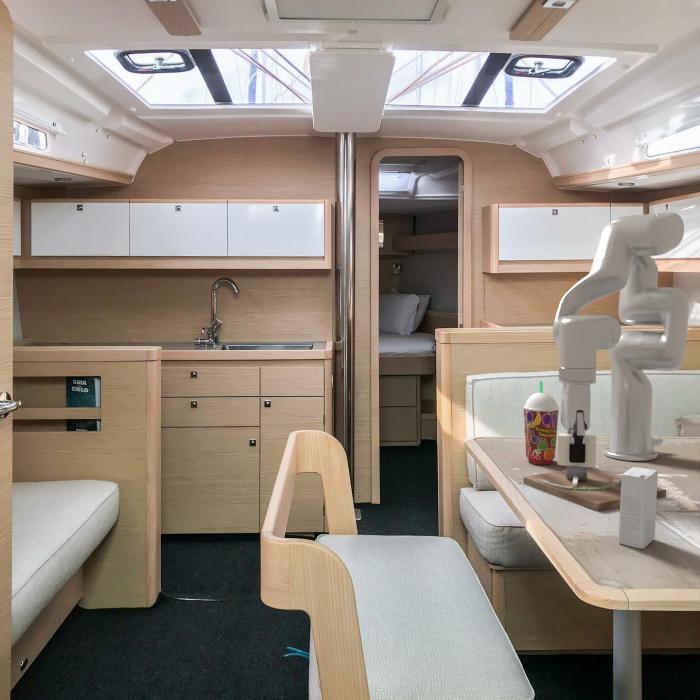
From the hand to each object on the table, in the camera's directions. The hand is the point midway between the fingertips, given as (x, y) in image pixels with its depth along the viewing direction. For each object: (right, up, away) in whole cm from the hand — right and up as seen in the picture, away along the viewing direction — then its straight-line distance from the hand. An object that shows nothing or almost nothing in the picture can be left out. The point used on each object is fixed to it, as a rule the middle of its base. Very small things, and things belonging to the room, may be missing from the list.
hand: (575, 459), depth 145 cm
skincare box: (0, -9, -32) cm, 33 cm away
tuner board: (+2, -6, -3) cm, 7 cm away
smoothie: (-2, -4, +21) cm, 21 cm away
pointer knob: (-1, -4, -2) cm, 5 cm away
